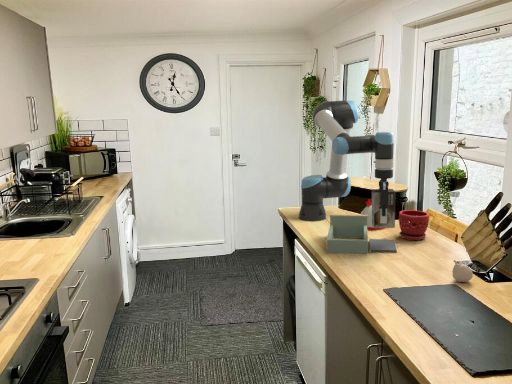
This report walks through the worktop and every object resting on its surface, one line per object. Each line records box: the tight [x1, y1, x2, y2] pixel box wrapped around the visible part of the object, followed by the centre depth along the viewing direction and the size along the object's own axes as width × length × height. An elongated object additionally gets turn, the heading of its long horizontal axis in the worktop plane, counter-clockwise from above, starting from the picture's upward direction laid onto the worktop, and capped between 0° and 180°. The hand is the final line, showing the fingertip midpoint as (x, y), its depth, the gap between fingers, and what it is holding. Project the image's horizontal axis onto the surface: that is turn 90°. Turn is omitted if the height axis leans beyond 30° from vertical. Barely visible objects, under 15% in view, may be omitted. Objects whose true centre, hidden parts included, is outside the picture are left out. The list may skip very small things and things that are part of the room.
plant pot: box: [398, 209, 430, 241], centre depth 210 cm, size 13×13×12 cm
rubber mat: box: [368, 238, 398, 254], centre depth 200 cm, size 15×11×1 cm
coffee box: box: [371, 188, 396, 229], centre depth 197 cm, size 9×6×16 cm
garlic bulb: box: [451, 259, 474, 283], centre depth 159 cm, size 7×6×8 cm
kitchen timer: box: [360, 197, 386, 231], centre depth 230 cm, size 14×14×15 cm
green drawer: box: [326, 213, 369, 256], centre depth 204 cm, size 25×17×11 cm
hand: (383, 220), depth 198 cm, fingers closed on coffee box, 7 cm apart
